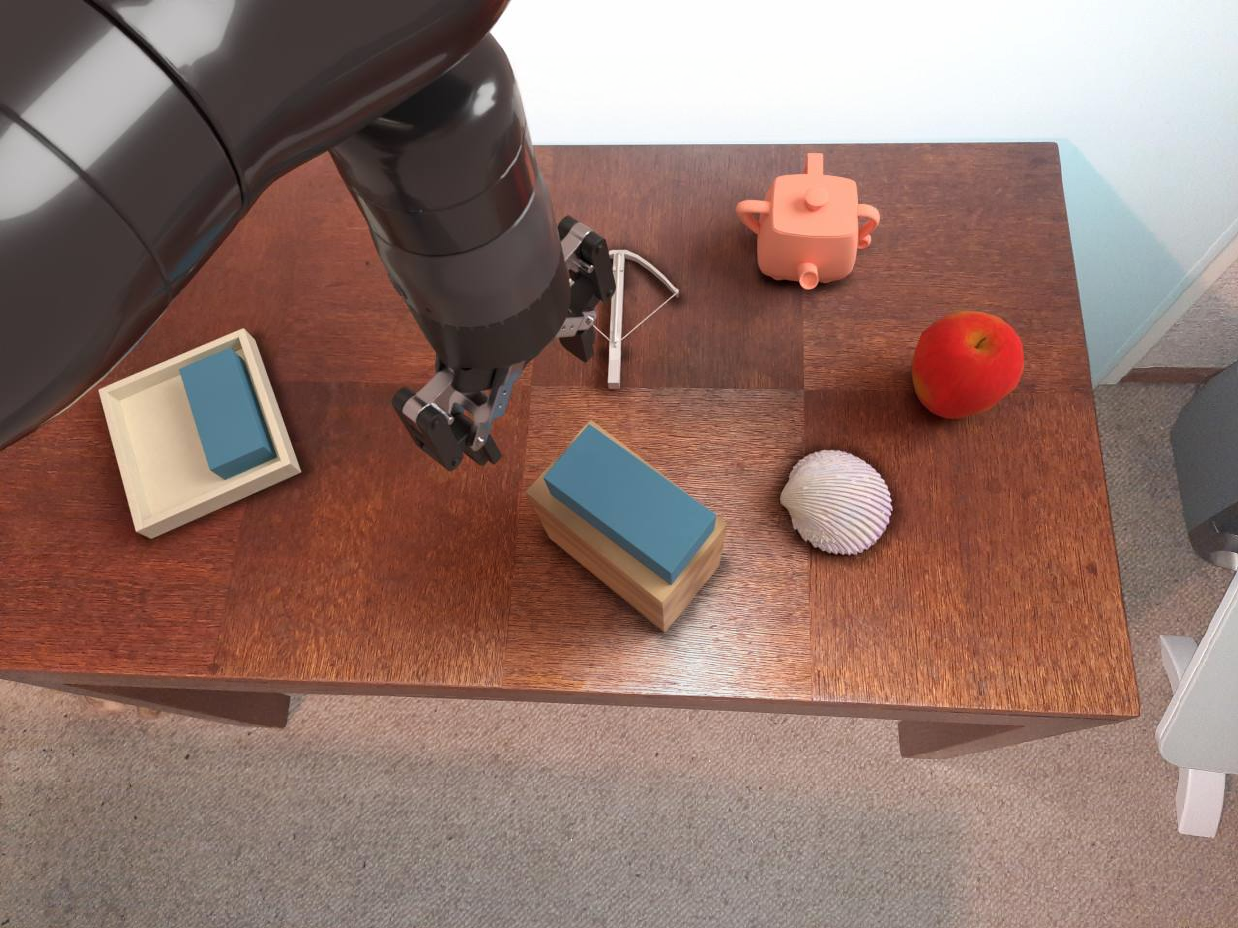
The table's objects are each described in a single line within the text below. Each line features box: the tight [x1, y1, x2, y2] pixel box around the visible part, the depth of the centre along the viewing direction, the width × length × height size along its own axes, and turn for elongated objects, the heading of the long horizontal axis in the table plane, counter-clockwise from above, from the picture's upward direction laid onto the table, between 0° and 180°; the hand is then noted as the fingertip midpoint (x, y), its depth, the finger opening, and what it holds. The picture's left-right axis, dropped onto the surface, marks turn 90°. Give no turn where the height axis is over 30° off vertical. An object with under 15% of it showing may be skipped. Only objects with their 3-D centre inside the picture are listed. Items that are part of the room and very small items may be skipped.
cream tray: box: [98, 327, 302, 540], centre depth 86 cm, size 16×17×3 cm
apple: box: [911, 310, 1025, 420], centre depth 78 cm, size 9×9×12 cm
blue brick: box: [179, 348, 277, 480], centre depth 85 cm, size 6×12×3 cm, turn 25°
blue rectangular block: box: [543, 424, 717, 585], centre depth 65 cm, size 6×12×4 cm, turn 52°
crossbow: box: [569, 249, 680, 390], centre depth 88 cm, size 16×13×2 cm
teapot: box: [735, 152, 881, 290], centre depth 85 cm, size 12×12×10 cm
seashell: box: [779, 449, 893, 556], centre depth 79 cm, size 10×6×10 cm
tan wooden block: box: [525, 419, 728, 633], centre depth 73 cm, size 8×14×14 cm, turn 50°
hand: (533, 400), depth 52 cm, fingers open, 8 cm apart
